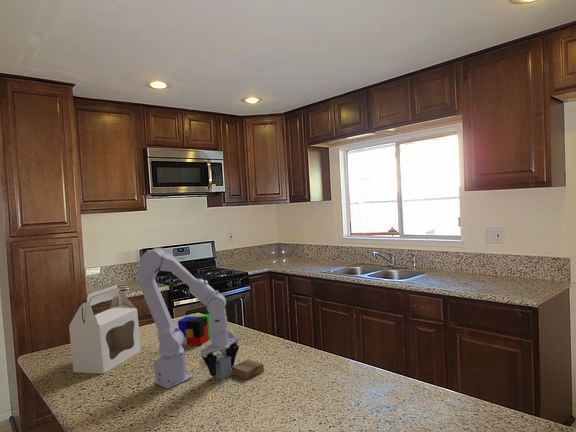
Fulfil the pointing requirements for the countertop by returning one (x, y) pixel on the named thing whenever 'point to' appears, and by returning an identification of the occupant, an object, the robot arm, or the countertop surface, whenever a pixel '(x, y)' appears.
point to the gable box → (104, 332)
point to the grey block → (223, 366)
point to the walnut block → (247, 369)
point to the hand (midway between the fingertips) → (222, 371)
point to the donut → (230, 335)
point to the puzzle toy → (195, 329)
